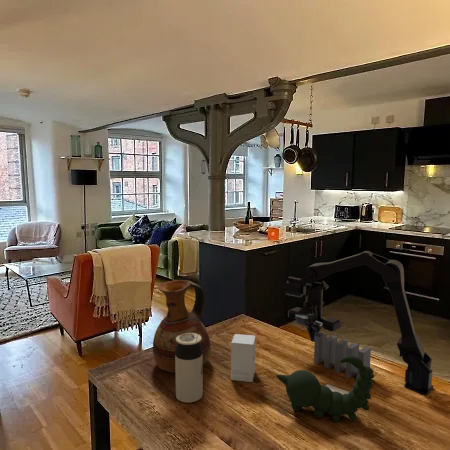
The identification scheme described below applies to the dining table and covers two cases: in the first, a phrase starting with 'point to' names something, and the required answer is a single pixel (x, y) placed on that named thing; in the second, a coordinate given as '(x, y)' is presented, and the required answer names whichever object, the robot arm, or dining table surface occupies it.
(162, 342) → the ceramic pitcher
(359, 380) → the toy figurine
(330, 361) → the tile
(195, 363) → the travel mug
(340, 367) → the tile
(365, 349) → the tile
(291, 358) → the dining table surface
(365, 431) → the dining table surface
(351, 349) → the grey block
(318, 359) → the tile
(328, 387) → the tile
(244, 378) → the supplement box
